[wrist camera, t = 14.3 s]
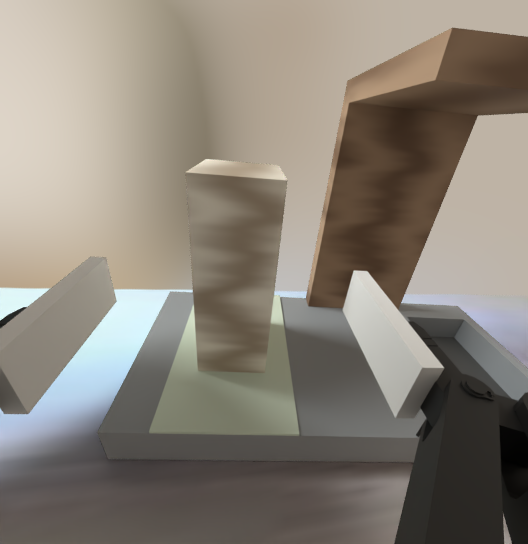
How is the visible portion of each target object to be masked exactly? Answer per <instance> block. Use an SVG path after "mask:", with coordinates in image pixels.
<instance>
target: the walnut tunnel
mask: <svg viewBox="0 0 528 544" xmlns="http://www.w3.org/2000/svg"><path fill="white" fill-rule="evenodd" d="M515 113H528V37H524V36H516V35H508V34H499V33H492V32H483V31H475V30H467V29H458V28H451V29H449V30H447V31H445V32H443V33H441V34H439V35H437V36H435V37H433V38H431V39H429V40H427V41H425V42H423V43H421V44H420V45H417V46H415V47H413V48H411V49H409V50H408V51H405V52H404V53H401V54H399V55H398V56H396V57H394V58H392V59H390V60H388V61H386V62H384V63H382V64H380V65H378V66H376V67H374V68H372V69H370V70H368V71H366V72H364V73H362V74H360V75H358V76H356V77H354V78H352V79H350V80H348V81H347V87H346V92H345V97H344V103H343V107H342V113H341V118H340V123H339V128H338V133H337V139H336V144H335V149H334V155H333V160H332V165H331V170H330V175H329V180H328V186H327V191H326V196H325V202H324V207H323V212H322V217H321V222H320V228H319V233H318V238H317V243H316V249H315V254H314V259H313V264H312V269H311V274H310V280H309V285H308V290H307V295H306V300H307V304H308V306H310V307H330V308H343V307H344V303H345V300H346V296H347V293H348V289H349V285H350V282H351V278H352V275H353V271H354V270H355V271H367V272H368V273H369V274H370V275H371V277H372V278H373V279H374V280H375V282H376V283H377V284H378V285H379V287H380V288H381V289H382V290H383V292H384V293H385V294H386V295H387V297H388V298H389V299H390V300H391V302H392V303H393V304H394V305H395V307H396V308H397V309H399V306H400V304H401V302H402V299H403V297H404V294H405V292H406V289H407V287H408V285H409V282H410V280H411V277H412V275H413V272H414V270H415V267H416V265H417V263H418V260H419V258H420V255H421V252H422V250H423V248H424V246H425V243H426V241H427V238H428V236H429V233H430V231H431V228H432V226H433V223H434V221H435V218H436V216H437V214H438V211H439V209H440V207H441V204H442V202H443V199H444V197H445V194H446V192H447V189H448V187H449V185H450V182H451V180H452V177H453V175H454V172H455V170H456V167H457V165H458V162H459V160H460V158H461V155H462V153H463V150H464V148H465V146H466V143H467V141H468V138H469V136H470V133H471V131H472V129H473V126H474V124H475V121H476V119H477V116H478V115H494V114H495V115H496V114H515Z"/></svg>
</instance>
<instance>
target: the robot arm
mask: <svg viewBox="0 0 528 544" xmlns="http://www.w3.org/2000/svg"><path fill="white" fill-rule="evenodd" d="M115 303H116V297H115V293H114V288H113V284H112V280H111V276H110V272H109V267H108V264H107V259H106V257H90V258H88V259H87V260H86V261H85V262H83V263H82V264H81V265H80V266H78V267H77V268H76V269H75V270H73V271H72V272H71V273H70V274H68V275H67V276H66V277H65V278H63V279H62V280H61V281H60V282H58V283H57V284H56V285H55V286H53V287H52V288H51V289H49V290H48V291H47V292H46V293H44V294H43V295H42V296H41V297H39V298H38V299H37V300H36V301H34V302H33V303H32V304H31V305H29V306H28V307H23V308H21V309H19V310H17V311H15V312H13V313H11V314H9V315H7V316H6V317H5V318H3V319H2V320H1V321H0V408H1V409H2V411H3V413H4V414H29V413H30V411H31V410H32V409H33V407H34V406H35V405H36V404H37V402H38V401H39V400H40V399H41V397H42V396H43V395H44V393H45V392H46V391H47V390H48V388H49V387H50V386H51V384H52V383H53V382H54V381H55V379H56V378H57V377H58V375H59V374H60V373H61V372H62V370H63V369H64V368H65V367H66V365H67V364H68V363H69V361H70V360H71V359H72V358H73V356H74V355H75V354H76V352H77V351H78V350H79V349H80V347H81V346H82V345H83V344H84V342H85V341H86V340H87V338H88V337H89V336H90V335H91V333H92V332H93V331H94V329H95V328H96V327H97V326H98V324H99V323H100V322H101V321H102V319H103V318H104V317H105V315H106V314H107V313H108V312H109V310H110V309H111V308H112V306H113V305H114V304H115ZM342 311H343V313H344V315H345V317H346V319H347V321H348V323H349V325H350V327H351V329H352V331H353V333H354V335H355V337H356V339H357V341H358V343H359V345H360V347H361V349H362V351H363V353H364V355H365V357H366V359H367V362H368V364H369V366H370V368H371V370H372V372H373V374H374V376H375V378H376V380H377V382H378V384H379V386H380V388H381V390H382V392H383V394H384V396H385V398H386V400H387V402H388V404H389V406H390V408H391V410H392V412H393V414H394V417H395V418H415V417H416V415H417V413H418V412H419V410H420V408H421V410H422V411H423V413H424V415H425V416H426V419H425V421H424V423H423V424H422V426H421V427H420V429H419V431H418V432H417V434H416V436H417V437H419V436H420V438H419V442H418V447H417V451H416V455H415V459H414V463H413V468H412V472H411V476H410V480H409V484H408V489H407V493H406V497H405V501H404V505H403V510H402V514H401V518H400V522H399V526H398V531H397V535H396V539H395V543H394V544H504V531H503V513H504V517H505V520H506V524H507V527H508V530H509V534H510V537H511V541H512V544H528V392H527V393H524V395H523V396H522V397H521V398H520V399H519V400H514V399H511V398H507V397H504V396H500V395H496V394H495V393H494V392H493V391H492V389H491V388H490V387H488V386H487V385H486V384H485V383H483V382H482V381H480V380H478V379H477V378H475V377H472V376H469V375H467V374H462V373H461V372H460V371H459V369H458V368H457V367H456V366H455V365H454V364H453V362H452V361H451V360H450V359H449V358H448V357H447V355H446V354H445V353H444V352H443V351H442V349H441V348H440V347H438V345H437V344H436V342H435V341H434V340H432V338H431V337H430V335H429V334H428V333H427V332H426V331H425V329H423V328H422V327H420V326H419V325H418V324H416V323H415V322H414V321H406V319H405V318H404V317H403V316H402V314H401V313H400V312H399V311H398V309H397V308H396V307H395V305H394V304H393V303H392V302H391V300H390V299H389V298H388V297H387V295H386V294H385V293H384V292H383V290H382V289H381V288H380V287H379V285H378V284H377V283H376V282H375V280H374V279H373V278H372V277H371V275H370V274H369V273H368V272H367V271H355V270H354V271H353V275H352V278H351V282H350V285H349V289H348V293H347V296H346V300H345V303H344V307H343V310H342Z"/></svg>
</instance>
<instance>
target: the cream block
mask: <svg viewBox="0 0 528 544" xmlns="http://www.w3.org/2000/svg"><path fill="white" fill-rule="evenodd" d="M185 173H186V189H187V205H188V220H189V237H190V253H191V269H192V284H193V301H194V317H195V333H196V349H197V365H198V371H219V372H249V373H265V366H266V358H267V349H268V341H269V332H270V324H271V316H272V307H273V299H274V290H275V281H276V273H277V265H278V256H279V247H280V240H281V230H282V223H283V214H284V205H285V197H286V189H287V179H286V177H285V175H284V174H283V172H282V170H281V169H280V167H279V165H271V164H259V163H247V162H234V161H222V160H211V159H206V160H204V161H202V162H201V163H200V164H198V165H196V166H195V167H193V168H192V169H190V170H188V171H187V172H185Z"/></svg>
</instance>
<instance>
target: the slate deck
mask: <svg viewBox="0 0 528 544" xmlns="http://www.w3.org/2000/svg"><path fill="white" fill-rule="evenodd" d="M342 310H343V308H330V307H310V306H308V304H307V300H306V298H288V297H280V296H278V295H274V299H273V307H272V316H271V324H270V332H269V341H268V349H267V358H266V366H265V373H249V372H219V371H198V365H197V349H196V333H195V317H194V301H193V293H189V292H170V293H169V295H168V297H167V299H166V301H165V303H164V305H163V307H162V309H161V310H160V312H159V314H158V316H157V318H156V320H155V322H154V324H153V326H152V328H151V330H150V332H149V334H148V336H147V337H146V339H145V341H144V343H143V345H142V347H141V349H140V351H139V353H138V355H137V357H136V359H135V361H134V362H133V364H132V366H131V368H130V370H129V372H128V374H127V376H126V378H125V380H124V382H123V384H122V386H121V387H120V389H119V391H118V393H117V395H116V397H115V399H114V401H113V403H112V405H111V407H110V409H109V411H108V413H107V414H106V416H105V418H104V420H103V422H102V424H101V426H100V428H99V430H98V432H97V433H98V436H99V438H100V441H101V443H102V446H103V448H104V451H105V453H106V456H107V458H108V459H130V460H226V461H321V462H414V459H415V455H416V451H417V447H418V442H419V438H420V436H419V437H417V436H416V434H417V432H418V431H419V429H420V427H421V426H422V424H423V423H424V421H425V419H426V416H425V415H424V413H423V411H422V410H421V408H420V410H419V412H418V413H417V415H416V417H415V418H395V417H394V414H393V412H392V410H391V408H390V406H389V404H388V402H387V400H386V398H385V396H384V394H383V392H382V390H381V388H380V386H379V384H378V382H377V380H376V378H375V376H374V374H373V372H372V370H371V368H370V366H369V364H368V362H367V359H366V357H365V355H364V353H363V351H362V349H361V347H360V345H359V343H358V341H357V339H356V337H355V335H354V333H353V331H352V329H351V327H350V325H349V323H348V321H347V319H346V317H345V315H344V313H343V311H342ZM398 311H399V312H400V313H401V314H402V316H403V317H404V318H405V319H406V321H414V322H415V323H416V324H418V325H419V326H420V327H422V328H423V329H425V331H426V332H427V333H428V334H429V335H430V337H431V338H432V340H434V341H435V342H436V344H437V345H438V347H440V348H441V349H442V351H443V352H444V353H445V354H446V355H447V357H448V358H449V359H450V360H451V361H452V362H453V364H454V365H455V366H456V367H457V368H458V369H459V371H460V372H461V373H462V374H467V375H469V376H472V377H475V378H477V379H478V380H480V381H482V382H483V383H485V384H486V385H487V386H488V387H490V388H491V389H492V391H493V392H494V393H495V394H496V395H500V396H504V397H507V398H511V399H514V400H519V399H520V398H521V397H522V396H523V395H524V393H527V392H528V368H527V367H526V366H525V365H523V364H522V363H521V362H520V361H519V360H518V359H517V358H516V357H514V356H513V355H512V354H511V353H510V352H509V351H508V350H506V349H505V348H504V347H503V346H502V345H501V344H500V343H499V342H497V341H496V340H495V339H494V338H493V337H492V336H491V335H490V334H488V333H487V332H486V331H485V330H484V329H483V328H482V327H481V326H479V325H478V324H477V323H476V322H475V321H474V320H473V319H472V318H470V317H469V316H468V315H467V314H466V313H465V312H464V311H462V310H461V309H460V308H459V307H458V306H446V305H426V304H407V303H401V304H400V306H399V309H398Z"/></svg>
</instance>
